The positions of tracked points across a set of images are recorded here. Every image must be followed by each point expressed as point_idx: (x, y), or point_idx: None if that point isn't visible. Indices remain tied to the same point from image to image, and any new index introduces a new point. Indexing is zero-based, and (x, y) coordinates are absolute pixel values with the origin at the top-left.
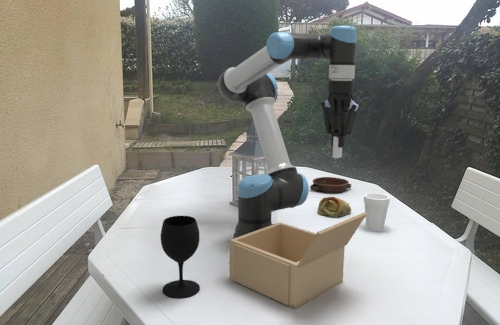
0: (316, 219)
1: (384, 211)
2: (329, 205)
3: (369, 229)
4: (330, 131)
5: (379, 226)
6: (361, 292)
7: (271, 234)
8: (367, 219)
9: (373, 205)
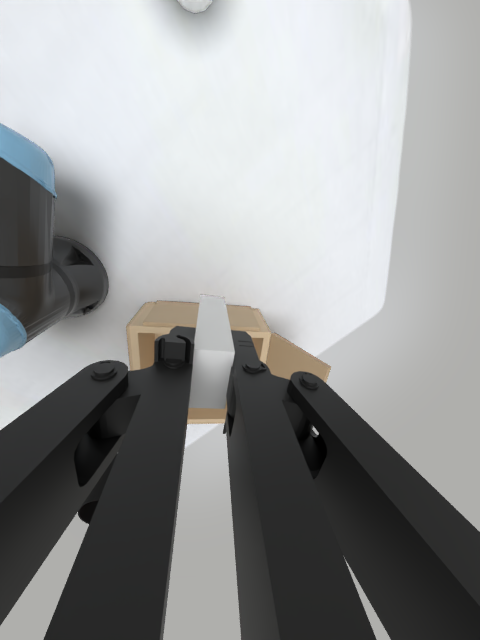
0: (20, 9)
1: None
2: None
3: (188, 8)
4: (129, 423)
5: None
6: (287, 318)
7: (143, 348)
8: None
9: None
